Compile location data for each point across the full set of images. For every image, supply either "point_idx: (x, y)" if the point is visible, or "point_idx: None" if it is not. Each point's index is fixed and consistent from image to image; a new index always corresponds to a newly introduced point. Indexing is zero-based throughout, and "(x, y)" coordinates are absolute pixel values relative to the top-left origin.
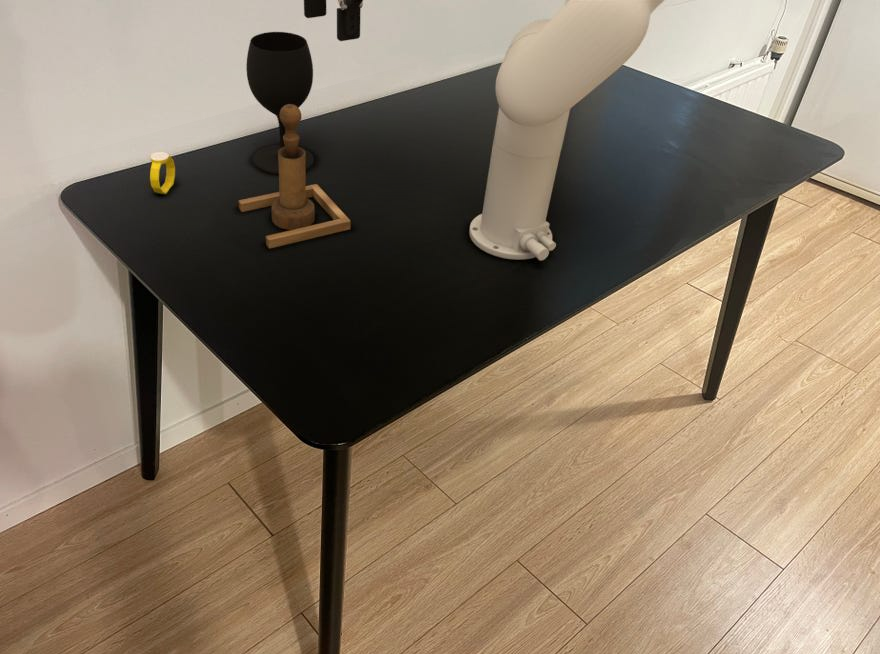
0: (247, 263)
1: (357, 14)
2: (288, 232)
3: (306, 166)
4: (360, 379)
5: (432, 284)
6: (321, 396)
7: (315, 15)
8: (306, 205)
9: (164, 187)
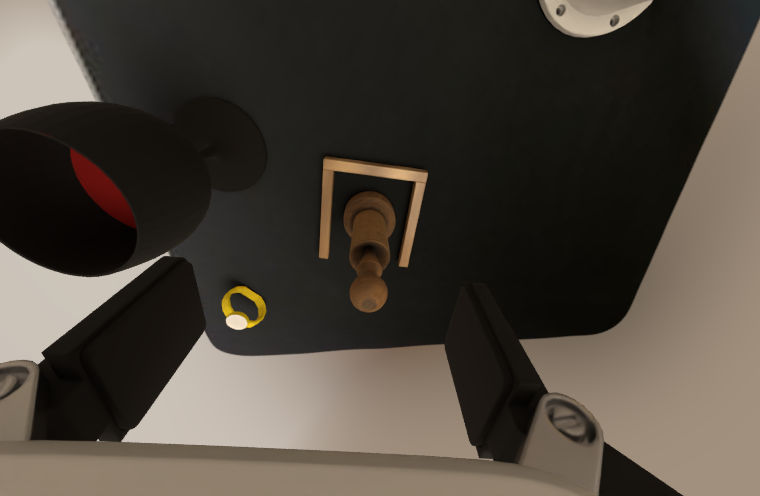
0: (414, 286)
1: (541, 382)
2: (406, 245)
3: (256, 132)
4: (598, 286)
5: (573, 155)
6: (585, 313)
7: (198, 303)
8: (384, 214)
9: (250, 296)
